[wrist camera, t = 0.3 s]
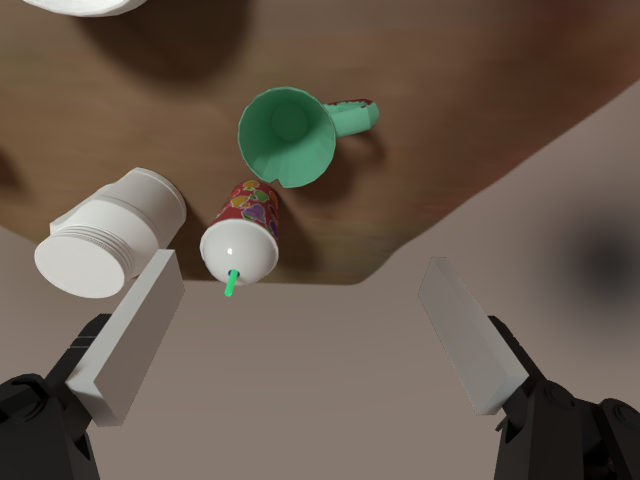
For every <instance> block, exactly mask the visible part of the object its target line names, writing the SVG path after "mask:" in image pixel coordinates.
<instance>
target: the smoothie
mask: <svg viewBox="0 0 640 480" xmlns="http://www.w3.org/2000/svg"><path fill="white" fill-rule="evenodd" d="M200 251H201V256H202V258H203V260H204V261H205V264H206V266H207V268H208V270H209V271H210V273H211V274H212V275H213V276H214V277H215V278H216V279H218V280H219V281H221V282H223V283H225V284H227V287H226V290H225V295H226V296H231V295H232V292H233V288H234V286H246V285H250V284H253V283H255V282H257V281H258V280H260V279H262V278H263V277H264V276H266V275H267V274H269V273H270V272H271V271H272V270H273V268H274V267H275V266H276V263H277V261H278V258H279V252H278V199H277V196H276V194H275V192H274V191H273V190H272V189H271V188H270V187H269V186H268V185H266V184H264V183H262V182H259V181H245V182H242V183H240V184H239V185H237V186H236V187H235V188H234V190H233V191H232V193H231V195H230V196H229V198H228V199H227V201H226V202H225V204H224V205H223V207H222V208H221V210H220V212H219V213H218V215H217V216H216V218H215V219H214V221H213V222H212V224H211V225H210V227H209V228H208V229H207V230H206V232H205V233H204V235H203V236H202V238H201V243H200Z"/></svg>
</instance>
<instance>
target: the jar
mask: <svg viewBox="0 0 640 480" xmlns="http://www.w3.org/2000/svg"><path fill="white" fill-rule="evenodd" d="M186 215H187V211H186V205H185V202H184V199H183V197H182V195H181V194H180V192H179V191H178V190H177V188H176V187H175V186H174V185H173V184H172V183H171V182H170V181H168V180H167V179H166V178H164V177H163V176H161V175H159V174H157V173H155V172H153V171H150V170H147V169H143V168H135V169H133V170H131V171H130V172H129V173H127V174H126V175H125V176H124V177H123V178H121V179H120V180H119V181H117V182H116V183H113V184H107V185H105V186H104V187H102V188H100V189H99V190H98V191H97V192H96V193H94V194H93V195H92V196H90V197H89V198H87V199H86V200H84V201H83V202H82V203H80V204H79V205H77V206H76V207H74V208H73V209H72V210H70V211H69V212H67V213H66V214H64V215H63V216H61V217H59V218H58V219H56V220H55V221H53V222H52V223H50V233H51V236H49V237H48V238H47V239H46V240H44V241H43V242H42V243H40V244H39V246H38V247H37V249H36V251H35V262H36V265H37V267H38V269H39V271H40V272H41V273H42V275H43V276H44V277H45V278H46V279H47V280H48V281H50V282H51V283H52V284H54V285H55V286H57V287H58V288H60V289H62V290H64V291H66V292H69V293H71V294H74V295H78V296H82V297H87V298H104V297H109V296H112V295H114V294H116V293H117V292H119V291H120V290H121V289H122V288H123V286H124V285H125V284H126V283H127V281H128V280H129V279H131V278H133V277H135V276H137V275H139V274H141V273H142V272H143V270H144V269H145V268H146V266H147V265H148V263H149V262H150V260H151V259H152V258H153V256H154V255H155V253H156V252H157V250H158V249H165V250H166V248H167V247H168V245H169V244H170V242H171V241H172V239H173V238H174V236H175V235H176V233H177V232H178V230H179V229H180V227H181V226H182V225H183V224H184V222H185V220H186Z"/></svg>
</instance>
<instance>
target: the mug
mask: <svg viewBox="0 0 640 480" xmlns="http://www.w3.org/2000/svg"><path fill="white" fill-rule="evenodd" d="M378 118H379V111H378V108H377V105H376V104H375V103H374V102H373V101H370V100H367V99H358V100H349V101H341V102H335V103H330V104H326V105H322V104H321V103H320V101H319V100H318V99H317V98H315V97H313V96H312V95H310V94H309V93H307V92H306V91H304V90H300V89H296V88H292V87H279V88H271V89H269V90H267V91H265V92H263V93H261V94H259V95H258V96H256V97H255V98H254V99H253V100H252V102H251V103H250V104H249V105H248V106H247V107H246V108H245V109H244V112H243V114H242V117H241V119H240V122H239V124H238V144H239V148H240V152H241V156H242V157H243V159H244V161H245V162H246V164H247V166H248V167H249V169H250V170H251V171H252V172H253V173H254V174H255V175H257V176H258V177H259V178H260V179H261V180H263V181H266V182H268V183H273V181H275V180H278V181H279V184H280V185H281V186H282V187H284V188H293V187H302V186H304V185H306V184H308V183H311V182H313V181H315V180H316V179H317V178H318V177H319V176H321V175H322V174H323V173H324V172H325V171H326V169H327V167H328V166H329V164H330V162H331V161H332V159H333V155H334V151H335V147H336V138H338V137H343V136H347V135H351V134H355V133H359V132H362V131H366V130H369V129H371V128H372V127H373V126H375V125H376V123H377V121H378Z"/></svg>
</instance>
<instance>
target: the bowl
mask: <svg viewBox="0 0 640 480" xmlns="http://www.w3.org/2000/svg"><path fill="white" fill-rule="evenodd" d="M23 1H25V2H27V3H29V4H31V5H34V6H37V7H40V8H42V9H45V10H48V11H51V12H54V13H57V14H64V15H71V16H78V17H103V16H114V15H119V14H122V13H125V12H127V11H130V10H133V9H135V8H137V7H138V6H140V5H142V4H143V3H145V2H146V1H147V0H23Z"/></svg>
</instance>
